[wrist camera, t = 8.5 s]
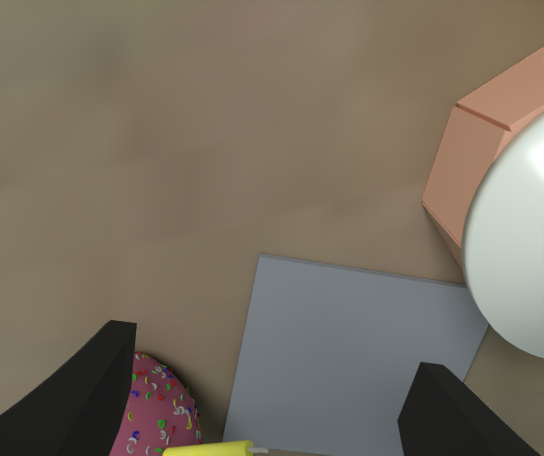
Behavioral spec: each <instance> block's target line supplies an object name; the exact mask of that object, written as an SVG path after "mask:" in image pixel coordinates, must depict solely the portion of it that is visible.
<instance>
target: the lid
mask: <svg viewBox="0 0 544 456" xmlns="http://www.w3.org/2000/svg"><path fill="white" fill-rule="evenodd" d="M461 263H462V269H463V276H464V279H465V282H466V285H467V288H468V291H469V293H470V295H471V297H472V299H473V301H474V303H475V305H476V306H477V307H478V309H479V310H480V311H481V313H482V314H483V315H484V317H485V318H486V319H487V321H488V322H489V323H490V325H491V326H492V327H493V329H494V330H496V331H497V332H498V333H499V334H500V335H501V336H502V337H503V338H504V339H505V340H507V341H508V342H510V343H511V344H513V345H514V346H516V347H517V348H519V349H521V350H523V351H525V352H528V353H530V354H532V355H535V356H538V357H541V358H544V111H543V112H542V113H540V114H539V115H537V116H536V117H535V118H534V119H533V120H532V121H530V122H529V123H528V124H527V125H526V126H525V127H524V128H523V129H521V130H520V131H519V132H518V133H517V134H516V135H515V136H514V137H513V138H512V140H511V141H510V142H509V143H508V144H507V145H506V146H505V147H504V148H503V149H502V151H501V152H500V153H499V155H498V156H497V157H496V159H495V160H494V161H493V163H492V164H491V165H490V167H489V168H488V170H487V172H486V173H485V175H484V177H483V178H482V180H481V182H480V184H479V185H478V187H477V189H476V192H475V194H474V196H473V199H472V201H471V203H470V206H469V209H468V212H467V216H466V219H465V222H464V227H463V234H462V240H461Z"/></svg>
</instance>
